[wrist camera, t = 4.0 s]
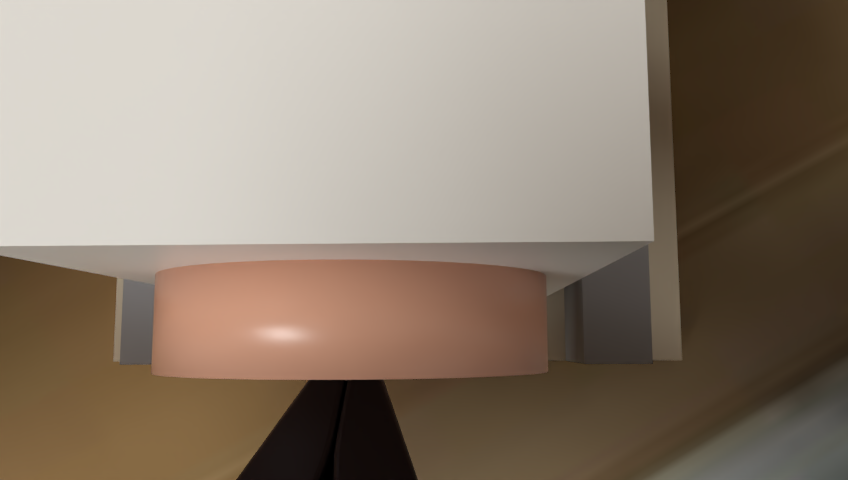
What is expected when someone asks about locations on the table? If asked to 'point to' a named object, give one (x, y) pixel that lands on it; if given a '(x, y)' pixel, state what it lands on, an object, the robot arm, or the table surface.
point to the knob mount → (578, 302)
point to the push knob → (329, 172)
